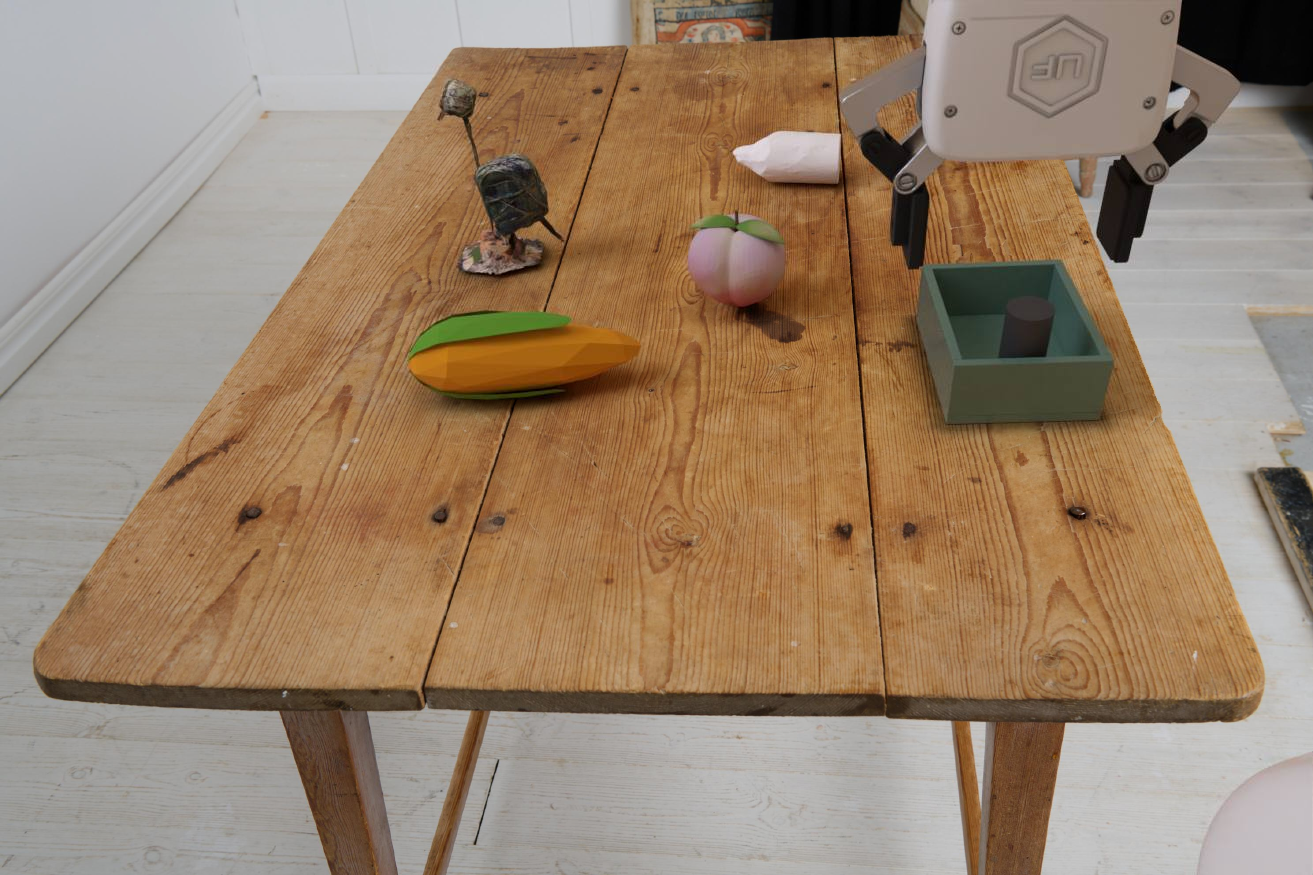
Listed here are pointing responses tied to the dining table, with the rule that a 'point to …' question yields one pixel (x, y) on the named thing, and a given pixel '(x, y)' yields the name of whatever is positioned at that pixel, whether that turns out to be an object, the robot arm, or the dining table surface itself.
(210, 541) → the dining table surface
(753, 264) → the decorative fruit
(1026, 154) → the robot arm
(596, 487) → the dining table surface
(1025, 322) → the dark grey cylinder
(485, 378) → the corn
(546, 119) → the dining table surface
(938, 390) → the bin
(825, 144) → the white pointed cylinder
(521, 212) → the long necked figurine
